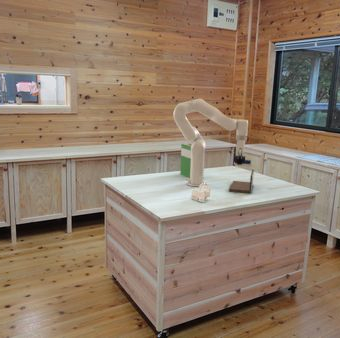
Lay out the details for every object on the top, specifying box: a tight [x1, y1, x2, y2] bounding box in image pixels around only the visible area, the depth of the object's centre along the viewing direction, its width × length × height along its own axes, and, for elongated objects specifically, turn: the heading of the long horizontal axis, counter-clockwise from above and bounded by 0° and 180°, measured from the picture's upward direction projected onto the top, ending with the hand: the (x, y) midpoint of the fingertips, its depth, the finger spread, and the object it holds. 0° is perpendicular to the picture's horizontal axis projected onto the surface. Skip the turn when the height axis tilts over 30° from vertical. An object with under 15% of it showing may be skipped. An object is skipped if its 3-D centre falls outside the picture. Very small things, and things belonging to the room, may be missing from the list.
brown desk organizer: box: [229, 168, 255, 195], centre depth 264 cm, size 14×24×12 cm, turn 166°
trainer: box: [233, 155, 252, 167], centre depth 263 cm, size 12×5×6 cm, turn 78°
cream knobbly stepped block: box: [190, 184, 211, 203], centre depth 235 cm, size 12×6×11 cm, turn 40°
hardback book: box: [179, 143, 192, 178], centre depth 295 cm, size 18×7×24 cm, turn 30°
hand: (239, 163), depth 263 cm, fingers closed on trainer, 5 cm apart
